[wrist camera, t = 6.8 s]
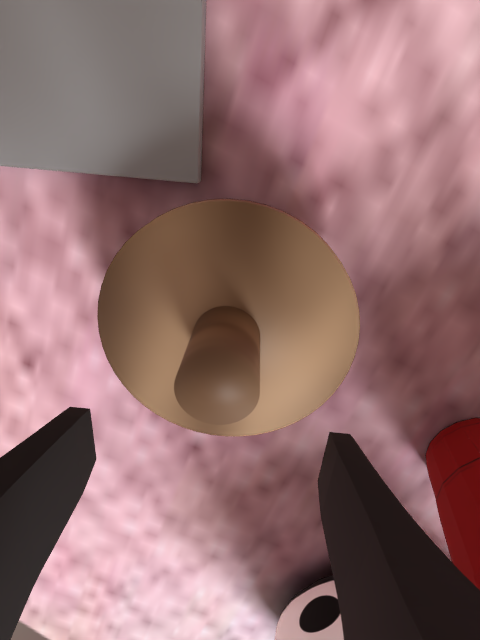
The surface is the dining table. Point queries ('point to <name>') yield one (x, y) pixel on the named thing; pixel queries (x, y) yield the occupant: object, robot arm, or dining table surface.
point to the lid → (228, 318)
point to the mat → (103, 87)
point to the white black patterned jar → (312, 614)
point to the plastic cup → (458, 492)
